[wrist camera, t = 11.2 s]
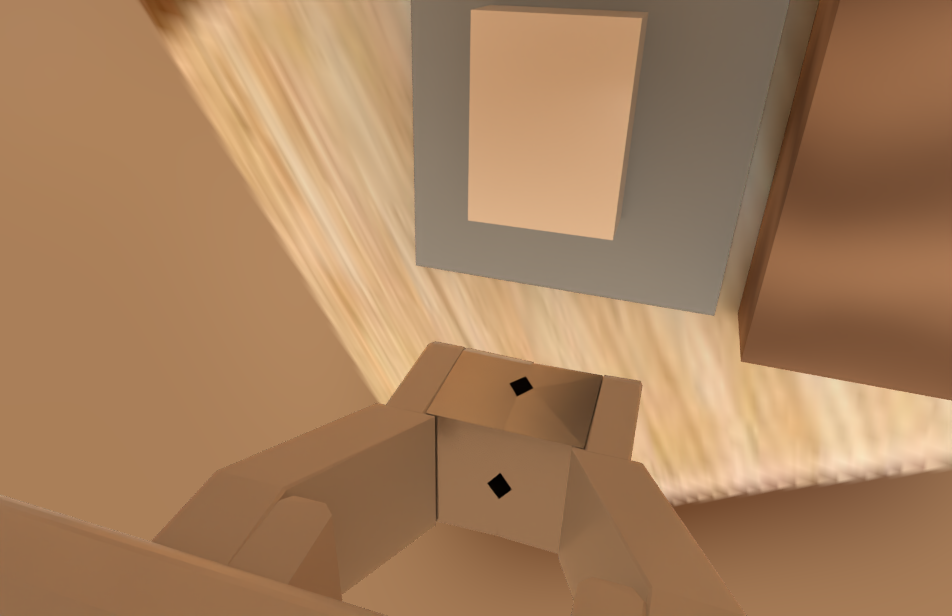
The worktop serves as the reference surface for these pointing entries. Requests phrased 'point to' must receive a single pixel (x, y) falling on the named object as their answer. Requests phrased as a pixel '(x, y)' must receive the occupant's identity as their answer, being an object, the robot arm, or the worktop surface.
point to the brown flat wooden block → (862, 206)
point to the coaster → (552, 116)
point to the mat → (649, 166)
